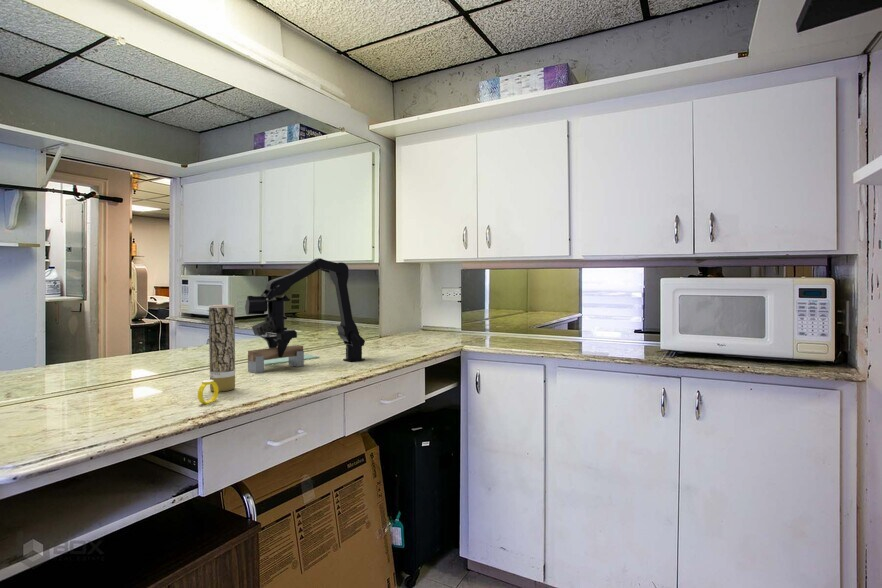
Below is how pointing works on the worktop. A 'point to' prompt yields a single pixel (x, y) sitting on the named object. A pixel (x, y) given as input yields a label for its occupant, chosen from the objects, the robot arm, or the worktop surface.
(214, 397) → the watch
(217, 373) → the brown tall cylinder
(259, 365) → the post
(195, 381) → the worktop surface
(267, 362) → the mat
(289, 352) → the rail
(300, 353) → the post
